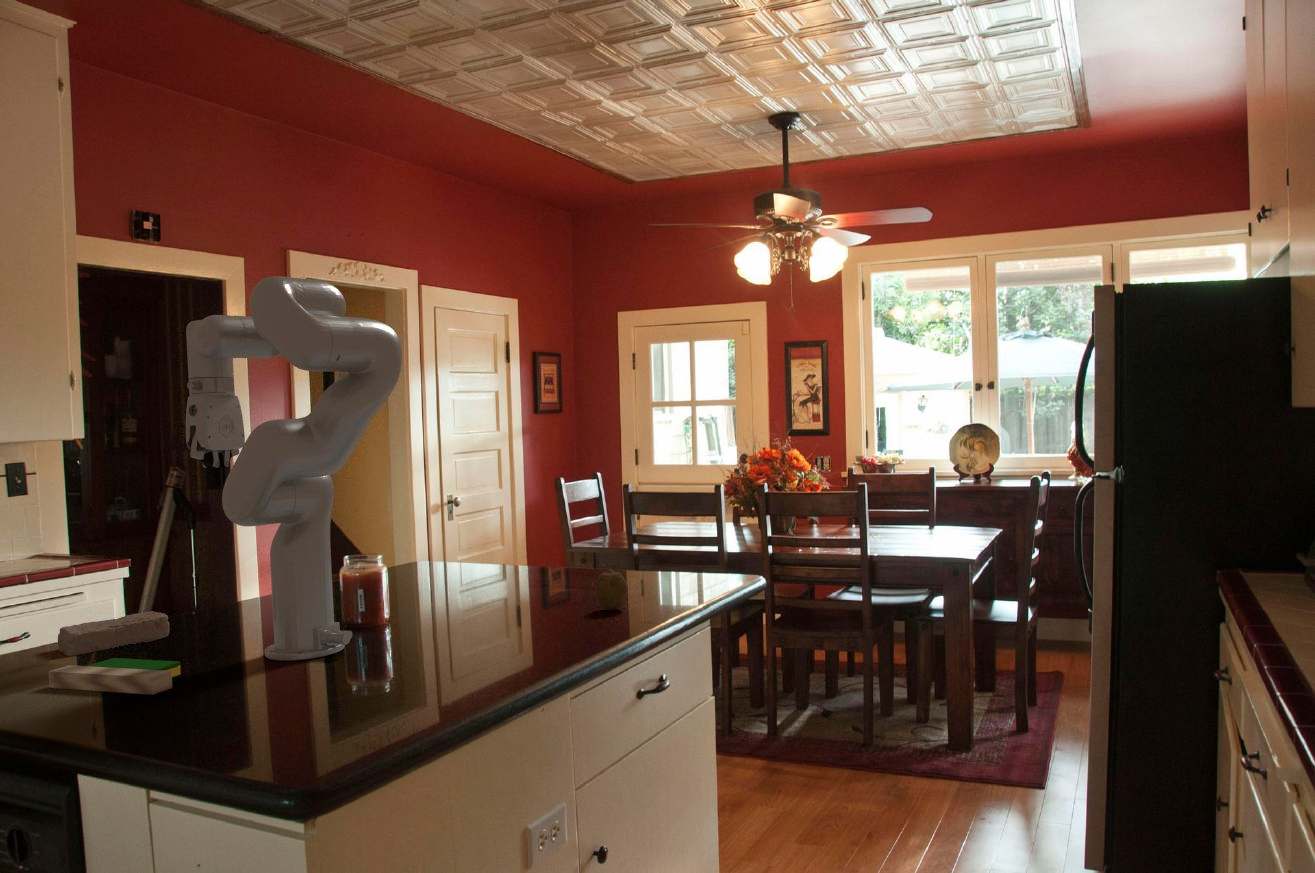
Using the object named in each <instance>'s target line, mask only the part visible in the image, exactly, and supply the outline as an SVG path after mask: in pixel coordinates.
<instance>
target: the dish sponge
mask: <svg viewBox="0 0 1315 873" xmlns="http://www.w3.org/2000/svg"><path fill="white" fill-rule="evenodd" d="M87 666H91V667H109V668H127V669H144V670H162V671H172V678H173V677H177V676H180V675H181V672H182V671H181V661H178V660H177V661H175V660H174V661H173V660H160V659H159V660H156V659H143V658H142V659H138V658H137V659H136V658H125V657H124V658H119V657H113V658H109V659H106V660H105V659H104V660H102V661H98V662H95V663H92V664H88V665H87Z"/></svg>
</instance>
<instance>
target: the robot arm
mask: <svg viewBox="0 0 1315 873" xmlns="http://www.w3.org/2000/svg"><path fill="white" fill-rule="evenodd" d="M248 305H249V307H248V309H249V313H250V316H248V315H244V316H243V315H226V314H225V315H224V314H213V315H208V316H206V317H205V318H203V319H199V320H193V321H190V322H189V323H188V324H187V326H186V329H185V330H186V332H185V333H186V334H185V335H186V352H187V353H186V354H187V355H186V356H187V369H188V371H187V373H188V382H187V384H186V387H187V389H188V391H189V392H188V393H189V396H187V403H186V412H185V441H186V445H187V448H188V449H189V451H190V452H189V456H190V458H192V459H196V460H199V461H200V462H201V463H202V467H203V468H205V476H206V489H207V490H208V491H209V490H210V491H211V490H222V496H221V498H222V499H221V502H222V503H221V504H222V510H223V512H224V514H225V517H226V518H228V520H229V521H230V522H232V523H233V524H235V525H237V526H241V527H259V526H266V525H274V524H276V525H277V524H279V526H278V528H277V530H276V532H275V534H274V536H273V538H272V540H271V543H270V544H271V545H270V550H269V562H270V581H271V582H270V584H271V585H270V586H271V600H272V602H271V604H272V619H273V624H272V625H273V639H274V640H273V641H274V643H273V644H271V645H269V646H267V647H266V648H265V649H264V656H265V658H266V659H269V660H272V661H273V660H274V661H284V662H285V661H286V662H287V661H289V662H291V661H301V660H310V659H317V658H321V657H322V658H323V657H326V656H330V655H333V654H337V653H339V652H340V651H342V650H343V649H345V647H346V645H348V644H349V643H350V641H351V639H352V637H353V631H352V630H341V629H340V627H341V626H340V623H341V622H339V621H338V622H337V621H335V614H334V597H333V577H332V576H333V575H332V572H333V571H332V556H331V555H332V554H331V522H332V521H331V520H332V512H333V506H334V499H335V498H334V497H335V485H334V481H333V478H332V476H331V475H334V474H336V473H338V472H339V471H340V470H341V469H342V468H343V467H344V466H345V465H346V463H347V461H348V460H349V458H350V456H351V455H352V454H353V452H354V450H355V448H356V447H357V445H358V443H359V441H360V440H361V439H362V437H363V435H364V433H365V432H366V430H367V427H368V426H369V424H370V422H371V421H372V419H374V416H375V415H376V414H377V412H378V411H379V410H380V409H381V408H382V406H383V405H384V404H385V402H386V401H387V400H388V399H389V397H390V395H391V394H392V393H393V391H394V389H395V387H396V385H397V383H398V381H399V378H400V375H401V369H402V365H403V364H402V363H403V350H402V345H401V344H402V342H401V340H400V338H399V335H398V334H397V333H396V331H395V330H394V329H393V328H392V327H391V326H390V325H388V324H386V323H383V322H381V321H379V320H375V319H371V318H366V317H358V316H357V317H353V316H345V315H346V311H347V302H346V299H345V296H344V295H343V294H342V292H341V291H340V290H339V289H338V288H337V287H336V286H334V285H333V284H331V283H329V282H327V281H324V280H319V279H313V278H312V279H310V278H301V277H300V278H299V277H291V276H279V275H277V276H273V275H272V276H268V277H265V278H263V279H261V280H260V281H258V283H256V284H255V286H253V289H252V290H251V293H250V295H249V302H248ZM281 356H282V357H283V358H284V359H285V360H286V361H287V362H288V363H289V364H291V365H292V366H293V367H295V368H297V369H299V370H302V371H307V372H327V373H328V372H338V373H344V372H345V374H344V375H343V376H342V377H341V378H339V379H338V380H336V381H335V382H333V383H332V384H331V385H329V386H328V387H327V388H326V389H325V390H324V391H323V393H321V395H320V396H319V398H318V399H317V401H316V403H315V406H314V407H313V408H312V410H311V411H310V412H309V413H308V415H306V416H302V417H298V418H282V419H281V418H280V419H272V420H271V419H270V420H268V421H267V420H266V421H265V422H263V423H260V424H258V425H257V426H256V427H255V428H254V429H253V430H252V431H251V432H250V434H249V435H248V437H247V439H246V438H245V437H246V436H245V434H246V433H245V426H244V425H245V424H244V418H243V412H242V407H241V402H240V400H239V396H238V395H236V392H235V372H234V371H235V370H234V359H259V360H263V359H264V360H265V359H273V358H277V357H281ZM240 449H241V450H240ZM236 456H237V458H236V459H235V462H234V463H233V466H232V467H231V468H230V471H229V473H228V471H227V469H228V468H227V467H229V466H230V460H232V458H233V457H236Z"/></svg>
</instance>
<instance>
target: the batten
mask: <svg viewBox="0 0 1315 873" xmlns="http://www.w3.org/2000/svg"><path fill="white" fill-rule="evenodd" d="M48 687H49V688H50V689H51V688H52V689H63V690H76V691H93V692H107V693H121V694H122V693H123V694H124V693H125V694H137V695H139V694H140V695H151V696H153V695H156V694H159V693H161V692H164V691H168V690H169V689H170V690H171V689H173V677H172V671H162V670H144V669H127V668H109V667H91V666H88V665H72V664H71V665H70V664H69V665H66V666H63V667H59V668H58V667H57V668H55V669H51V670H48Z"/></svg>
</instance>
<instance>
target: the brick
mask: <svg viewBox="0 0 1315 873" xmlns="http://www.w3.org/2000/svg"><path fill="white" fill-rule="evenodd" d="M168 619H169V617H168V615H167V614H166V613H162V612H157V611H152V610H151V611H145V612H139V613H132V614H128V615H124V616H121V617H118V618H111V619H103V620H99V621H91V622H83V623H80V624H72V625H70V626H68V625H67V626H62V627H60V628H59V633H58V635H57V646H58V651H59V652H62V653H64V654H65V656H69V657H74V656H78V655H84V654H90V653H94V652H99V651H106V650H111V649H110V648H112V649H116V647H117V648H120V647H119V646H123V647H125V646H124V645H128V644H134V645H137V644H136V643H139V644H142V643H141V642H145V643H149V642H155V641H158V640H161V639H164V638H166V637H168V636H169V634H170V621H169V620H168ZM128 646H129V645H128Z"/></svg>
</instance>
